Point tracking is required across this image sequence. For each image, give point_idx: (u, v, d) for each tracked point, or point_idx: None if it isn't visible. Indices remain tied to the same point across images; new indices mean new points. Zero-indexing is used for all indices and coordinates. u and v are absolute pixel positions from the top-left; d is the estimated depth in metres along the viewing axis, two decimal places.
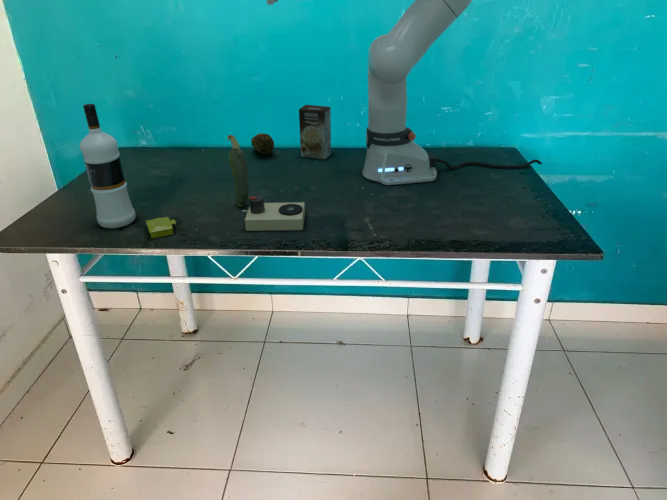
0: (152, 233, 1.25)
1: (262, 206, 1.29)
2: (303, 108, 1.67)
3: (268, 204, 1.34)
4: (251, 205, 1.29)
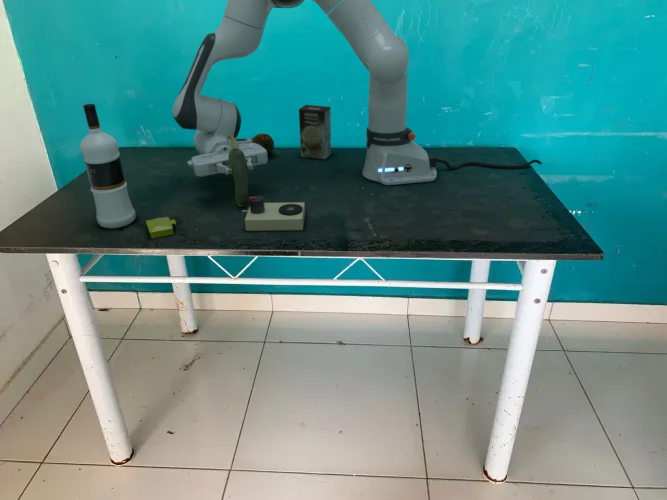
0: (152, 233, 1.25)
1: (262, 206, 1.29)
2: (303, 108, 1.67)
3: (268, 204, 1.34)
4: (251, 205, 1.29)
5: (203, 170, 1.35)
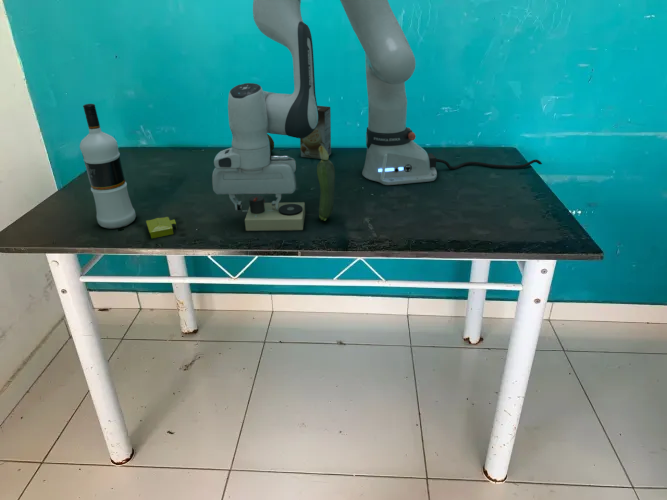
0: (152, 233, 1.25)
1: None
2: None
3: (268, 204, 1.34)
4: (261, 205, 1.29)
5: None
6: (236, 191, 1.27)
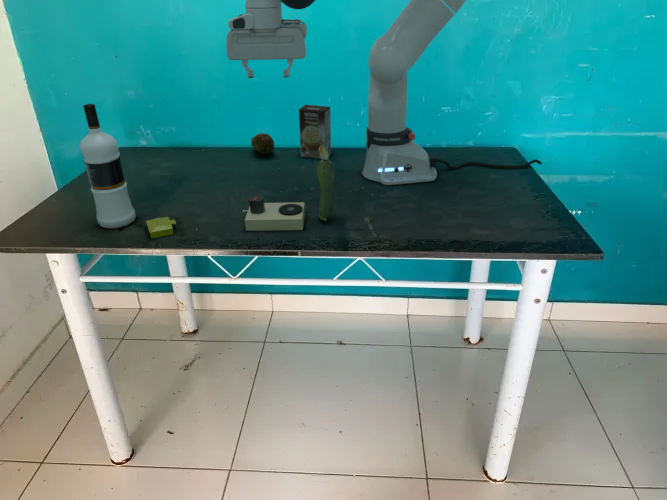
0: (152, 233, 1.25)
1: None
2: (303, 108, 1.67)
3: (268, 204, 1.34)
4: (261, 205, 1.29)
5: None
6: (249, 56, 1.32)
